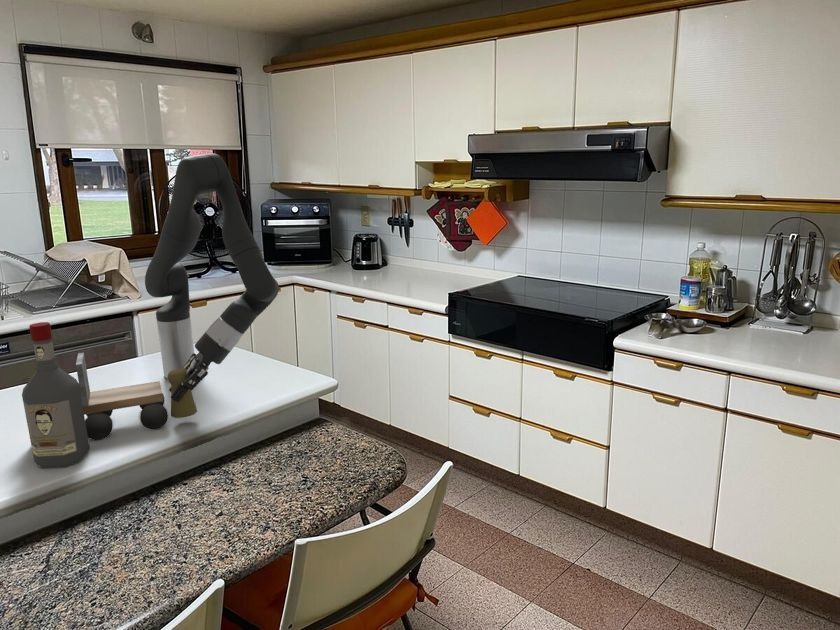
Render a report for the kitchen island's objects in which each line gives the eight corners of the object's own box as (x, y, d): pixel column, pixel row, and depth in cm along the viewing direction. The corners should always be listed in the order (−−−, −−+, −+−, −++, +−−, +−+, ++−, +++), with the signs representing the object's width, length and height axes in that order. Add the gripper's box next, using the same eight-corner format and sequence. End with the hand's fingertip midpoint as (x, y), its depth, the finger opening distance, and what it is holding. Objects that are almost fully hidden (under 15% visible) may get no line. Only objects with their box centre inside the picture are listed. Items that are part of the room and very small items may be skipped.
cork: (201, 408, 158) (195, 365, 155) (190, 417, 152) (184, 373, 149) (177, 408, 158) (172, 365, 156) (166, 417, 152) (159, 373, 150)
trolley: (87, 421, 159) (76, 351, 154) (165, 407, 166) (156, 340, 161) (85, 442, 146) (72, 367, 142) (169, 427, 153) (159, 355, 149)
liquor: (52, 450, 143) (28, 319, 135) (94, 448, 143) (72, 318, 136) (30, 470, 134) (3, 331, 127) (75, 467, 134) (51, 329, 127)
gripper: (203, 324, 160) (157, 379, 158) (210, 338, 147) (161, 397, 145) (227, 342, 163) (183, 395, 161) (236, 356, 150) (188, 414, 149)
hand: (173, 395), depth 153 cm, fingers closed on cork, 4 cm apart
